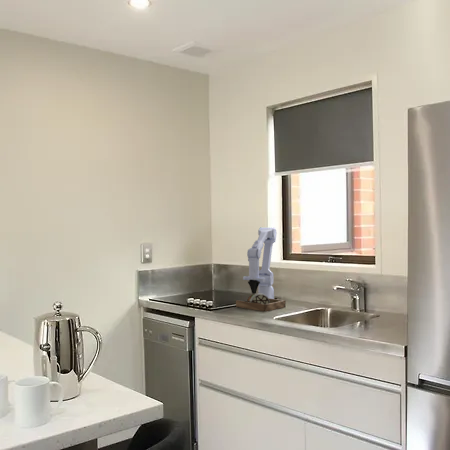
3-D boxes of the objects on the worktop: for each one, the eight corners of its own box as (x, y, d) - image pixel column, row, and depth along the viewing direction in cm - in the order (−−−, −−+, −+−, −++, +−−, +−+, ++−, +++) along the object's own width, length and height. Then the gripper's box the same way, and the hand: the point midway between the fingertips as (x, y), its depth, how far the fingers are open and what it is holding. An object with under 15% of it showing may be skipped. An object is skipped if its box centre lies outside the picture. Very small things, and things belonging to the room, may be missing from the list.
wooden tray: (256, 302, 305) (256, 296, 305) (285, 306, 291) (285, 300, 291) (235, 306, 291) (235, 300, 291) (265, 311, 278) (265, 304, 278)
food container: (267, 295, 297) (274, 297, 287) (264, 306, 296) (270, 308, 286) (247, 289, 294) (253, 290, 284) (244, 299, 293) (250, 301, 283)
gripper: (239, 269, 296) (239, 293, 296) (259, 271, 286) (259, 295, 287) (247, 268, 301) (247, 291, 302) (267, 270, 292) (267, 294, 292)
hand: (253, 293), depth 294 cm, fingers closed
